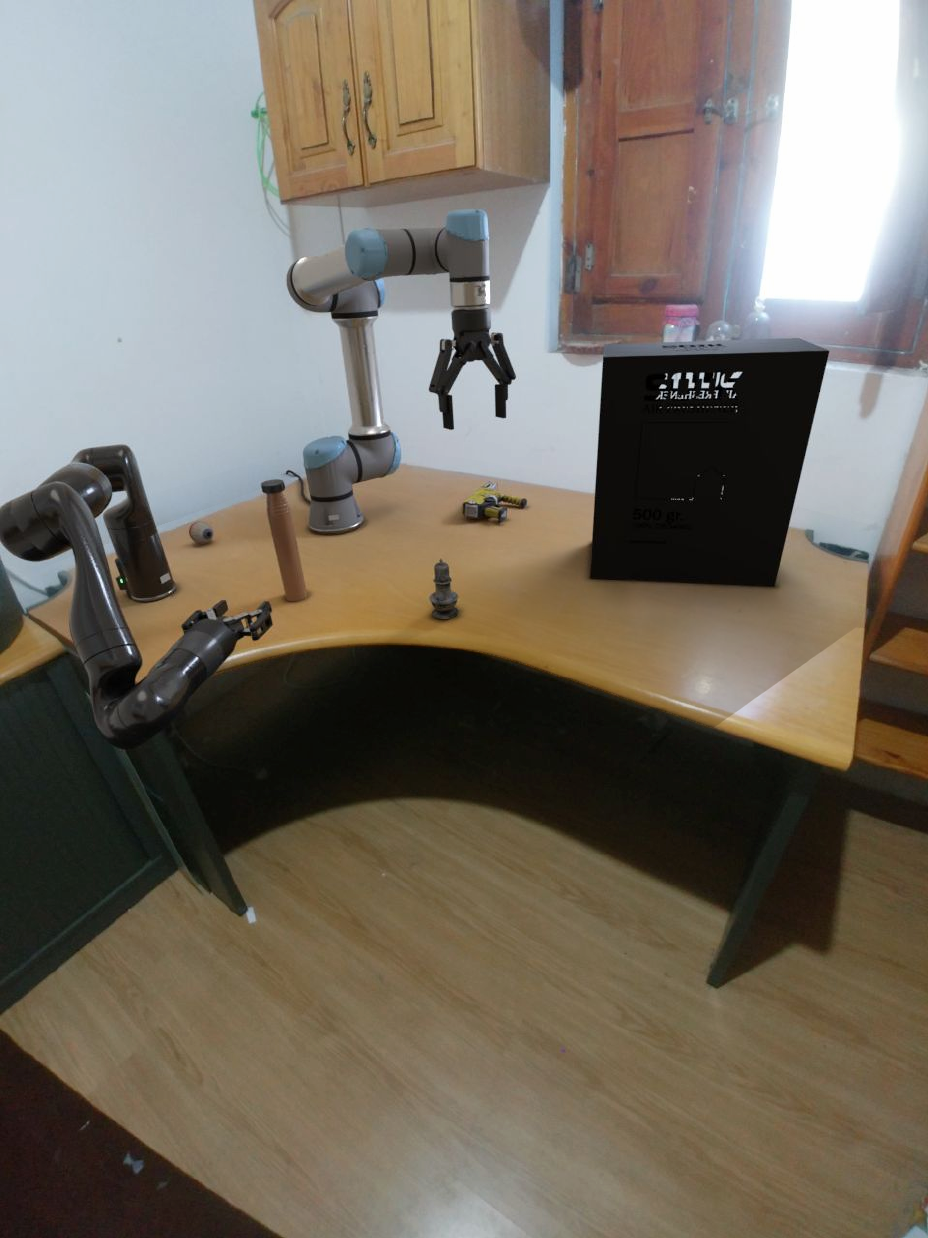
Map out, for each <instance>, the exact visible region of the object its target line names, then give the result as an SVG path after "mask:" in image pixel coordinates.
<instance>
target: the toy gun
mask: <svg viewBox="0 0 928 1238" xmlns="http://www.w3.org/2000/svg"><path fill="white" fill-rule="evenodd" d="M498 486H499V483H498V482H497V481H493V482H492V481H491V480H489V481H488V482H487V483H485V484H483V485H482V486H481V487H479V488H478V489H477V490H476V491H474V493H472V495H470V496H469V497H468V498H467V499H466V500H465V501H464V502H462V506H461V508H462V509H461V514H462V516H463V517H466V518H467V519H471V520H472V519H474V518H475V519H482V518H486V517H489V518H494V519H498V521H497V522H498V523H499V522H502V521H504V520H506V519H507V516H508V506H503V507H501V505H499V504H500V503H505V504H506V503H507V504H511V505H515V506H519V507H521V508H525V507H526V506H527V503H528V499H526V497H525V498H524V497H520V496H514V495H511V494H510V495H509V494H506V493H505V494H503V495H502V496H501V493H500V492H499V491H498V489H499V487H498Z"/></svg>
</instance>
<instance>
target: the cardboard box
mask: <svg viewBox="0 0 928 1238" xmlns="http://www.w3.org/2000/svg"><path fill="white" fill-rule="evenodd" d="M829 356H830V350H829V349H827V348H824V347H822V346H819V345H817V344H815V343H813V342H809V341H808V340H804V339H802V338H799V337H787V338H786V337H785V338H756V339H755V338H753V339H751V338H750V339H724V340H691V341H689V340H688V341H661V342H631V343H604V344H603V353H602V368H601V385H600V386H601V387H600V399H599V400H600V402H599V416H598V417H599V419H598V434H597V436H598V437H597V452H596V467H595V468H596V470H595V487H594V502H593V503H594V504H593V521H592V535H591V536H592V538H591V554H590V569H589V571H590V572H589V578H590V579H600V580H625V581H647V582H665V583H666V582H667V583H668V582H669V583H688V584H689V583H691V584H692V583H693V584H714V585H735V586H755V587H756V586H757V587H759V586H760V587H776V583H777V579H778V575H779V572H780V571H779V570H780V566H781V562H782V557H783V553H784V549H785V545H786V541H787V536H788V532H789V528H790V523H791V519H792V514H793V510H794V506H795V502H796V497H797V493H798V489H799V485H800V480H801V475H802V473H803V472H802V471H803V467H804V464H805V457H806V454H807V449H808V446H809V441H810V437H811V433H812V428H813V425H814V419H815V415H816V411H817V407H818V403H819V398H820V395H821V390H822V385H823V381H824V376H825V373H826V368H827V363H828V360H829ZM735 373H740V374H739V376H738V377H733V375H734V374H735ZM676 374H680V378H678V381H677V387H674V386H675V385H674V384H675V378H673V377H674V375H676ZM687 374H692V378H691V384H694V385H693V387H689V385H690V378H687ZM701 374H703V378H700V376H701ZM718 374H719V378H718ZM722 377H723V382H722ZM717 379H718V383H717ZM722 383H723V384H727V383H729V384H731V383H733V384H732V387H731V386H730V387H726V386H725V387H724V386H723V385H722ZM703 384H708V387H702V385H703ZM662 386H665V387H664V388H663V387H662ZM661 387H662V388H661Z"/></svg>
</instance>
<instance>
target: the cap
mask: <svg viewBox="0 0 928 1238" xmlns="http://www.w3.org/2000/svg"><path fill="white" fill-rule="evenodd" d="M260 487H261V492H262V493H263V494H265V495H266V494H273V493H279V492H282V491H283V492H284V491H285V490H286V485H285V482H284V480H283V479H279V478H278V479H276V478H275V479H267V480H264V481H262V482H261V483H260Z"/></svg>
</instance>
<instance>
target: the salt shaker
mask: <svg viewBox="0 0 928 1238" xmlns="http://www.w3.org/2000/svg"><path fill="white" fill-rule="evenodd" d="M438 561H439V562H437V563H435V564H434V568H433V570H434V578H433V580H432V581H433V583H434V587H435V591H434V592H432V593H431V594H430V595H429V597H428V600H429V601H430V603H431V605H432V607H433V608H434V609H433V610H432V611H431V615H432V616H433V618H436V619H439V620H448V619H452V618H454V617H456V616H457V615H458V614H459V610H458V608H457V607H456V605H457V603H458V600H459V594H458V592H456V591H453V590H452V587H451V586H452V585H451V582H452V577H450V566H449V563H447V562H444V560H443V559H442V558H440V559H439V560H438Z"/></svg>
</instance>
